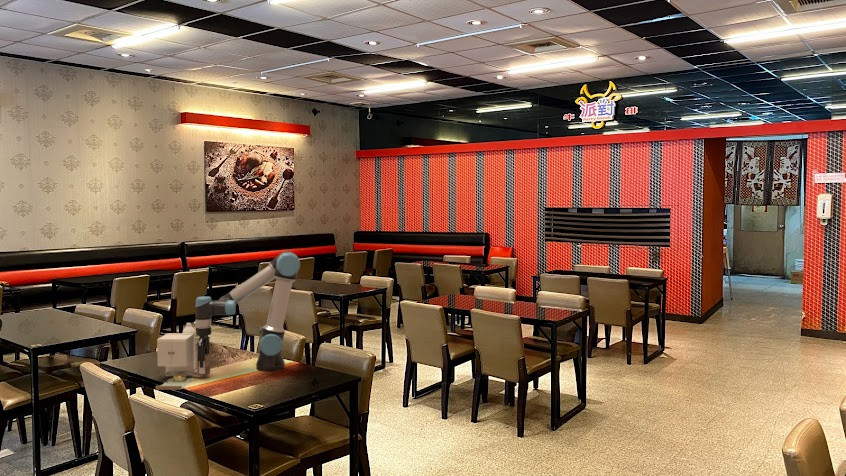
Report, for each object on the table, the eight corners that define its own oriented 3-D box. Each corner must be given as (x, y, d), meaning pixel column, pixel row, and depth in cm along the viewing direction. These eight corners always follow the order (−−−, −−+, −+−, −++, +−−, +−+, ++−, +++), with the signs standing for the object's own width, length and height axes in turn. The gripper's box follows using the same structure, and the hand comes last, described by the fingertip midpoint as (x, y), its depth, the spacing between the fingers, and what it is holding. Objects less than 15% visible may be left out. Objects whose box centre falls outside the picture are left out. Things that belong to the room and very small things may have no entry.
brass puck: (187, 378, 331) (187, 373, 331) (183, 382, 325) (183, 377, 325) (175, 378, 331) (175, 373, 331) (171, 382, 325) (171, 377, 325)
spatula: (210, 373, 336) (210, 354, 336) (207, 375, 331) (207, 356, 331) (168, 373, 336) (168, 353, 335) (165, 375, 331) (165, 356, 330)
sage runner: (194, 378, 332) (194, 375, 332) (181, 389, 312) (181, 386, 312) (170, 378, 332) (170, 375, 332) (155, 389, 312) (155, 386, 312)
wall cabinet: (194, 375, 338) (193, 333, 337) (185, 382, 324) (184, 338, 323) (166, 375, 338) (166, 333, 336) (156, 382, 324) (156, 338, 323)
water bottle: (186, 371, 346) (185, 324, 345) (180, 369, 351) (180, 322, 350) (201, 368, 353) (201, 322, 351) (196, 366, 357) (195, 320, 356)
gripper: (201, 323, 342) (201, 367, 343) (190, 330, 324) (190, 376, 325) (216, 323, 342) (216, 367, 343) (205, 330, 324) (205, 376, 325)
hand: (203, 372), depth 334 cm, fingers closed on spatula, 5 cm apart
